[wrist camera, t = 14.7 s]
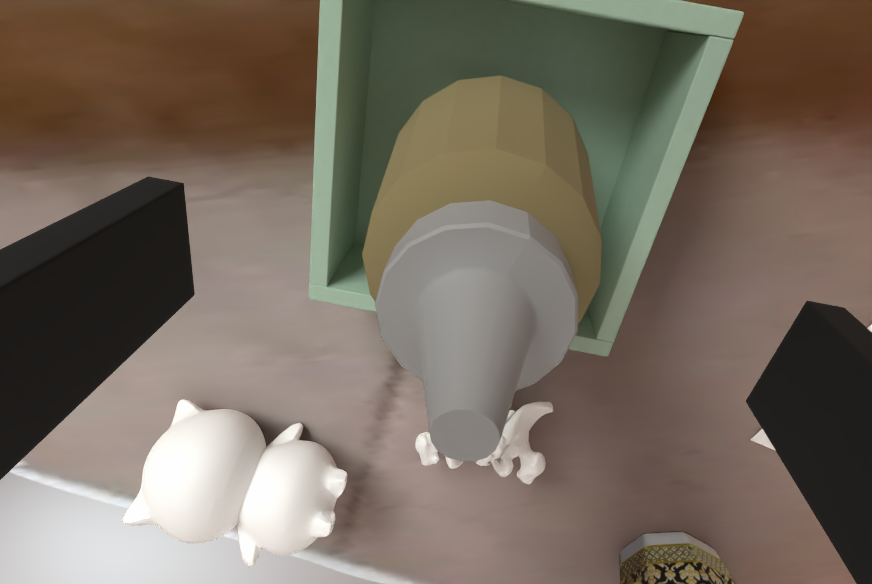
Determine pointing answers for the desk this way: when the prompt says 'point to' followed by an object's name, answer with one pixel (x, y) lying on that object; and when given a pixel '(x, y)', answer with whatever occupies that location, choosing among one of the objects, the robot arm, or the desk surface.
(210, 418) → the cat figurine
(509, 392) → the squeeze bottle
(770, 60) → the desk surface
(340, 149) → the bin
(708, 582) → the ceramic cup
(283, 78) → the desk surface
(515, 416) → the anatomical pelvis
